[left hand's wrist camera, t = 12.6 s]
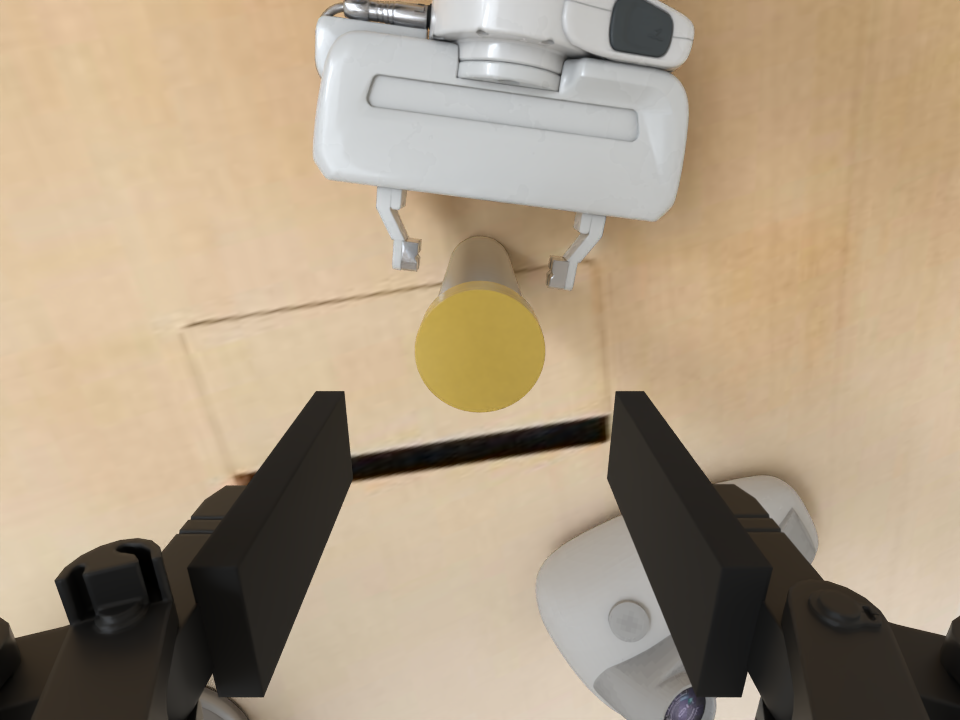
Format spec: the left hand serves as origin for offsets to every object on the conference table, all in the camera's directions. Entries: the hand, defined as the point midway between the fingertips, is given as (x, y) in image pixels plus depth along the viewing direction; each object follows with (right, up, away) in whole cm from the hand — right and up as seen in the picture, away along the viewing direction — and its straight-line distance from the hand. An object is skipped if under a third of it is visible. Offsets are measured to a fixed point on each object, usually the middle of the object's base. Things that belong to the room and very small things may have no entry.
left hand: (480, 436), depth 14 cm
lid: (0, +3, +7) cm, 7 cm away
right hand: (0, +7, +18) cm, 19 cm away
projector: (+17, -15, +33) cm, 40 cm away
